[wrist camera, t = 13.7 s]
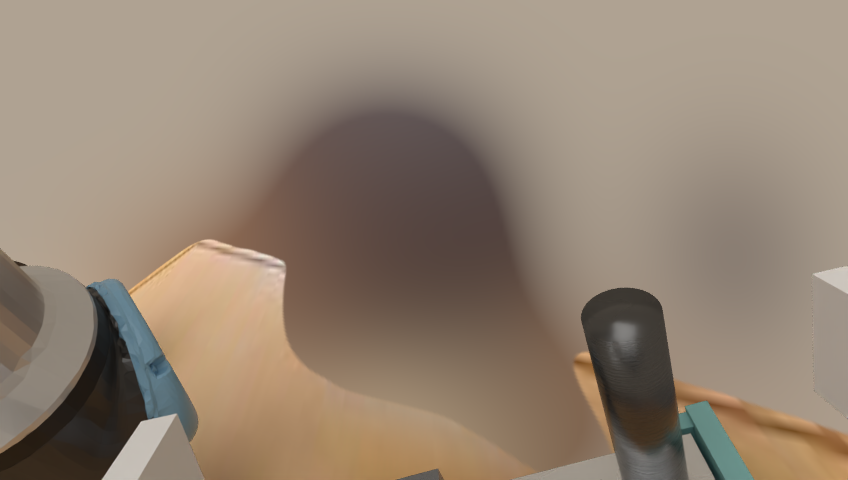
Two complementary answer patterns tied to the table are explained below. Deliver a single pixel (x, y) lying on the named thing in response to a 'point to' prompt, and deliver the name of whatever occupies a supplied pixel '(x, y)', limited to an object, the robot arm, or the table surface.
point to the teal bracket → (713, 442)
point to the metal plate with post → (634, 395)
